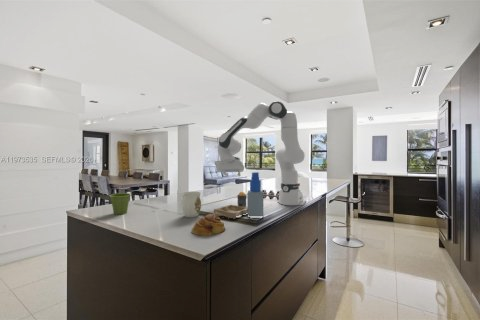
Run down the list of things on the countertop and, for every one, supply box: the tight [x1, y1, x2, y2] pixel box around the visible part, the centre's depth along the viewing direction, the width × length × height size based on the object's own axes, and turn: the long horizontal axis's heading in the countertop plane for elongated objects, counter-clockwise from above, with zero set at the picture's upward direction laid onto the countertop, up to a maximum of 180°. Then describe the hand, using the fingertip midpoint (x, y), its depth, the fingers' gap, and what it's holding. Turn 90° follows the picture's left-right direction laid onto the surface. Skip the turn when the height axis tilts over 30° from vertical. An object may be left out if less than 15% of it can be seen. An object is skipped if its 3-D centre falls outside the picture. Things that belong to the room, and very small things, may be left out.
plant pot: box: [108, 192, 132, 216], centre depth 146 cm, size 12×12×11 cm
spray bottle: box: [246, 171, 264, 217], centre depth 136 cm, size 9×9×25 cm
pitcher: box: [181, 191, 202, 218], centre depth 140 cm, size 11×18×14 cm, turn 162°
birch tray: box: [213, 204, 248, 217], centre depth 141 cm, size 15×15×4 cm
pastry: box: [190, 212, 226, 237], centre depth 113 cm, size 13×15×8 cm
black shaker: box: [236, 194, 247, 207], centre depth 155 cm, size 6×6×9 cm
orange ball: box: [238, 191, 246, 196], centre depth 154 cm, size 4×4×4 cm
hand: (233, 175), depth 165 cm, fingers open, 8 cm apart
